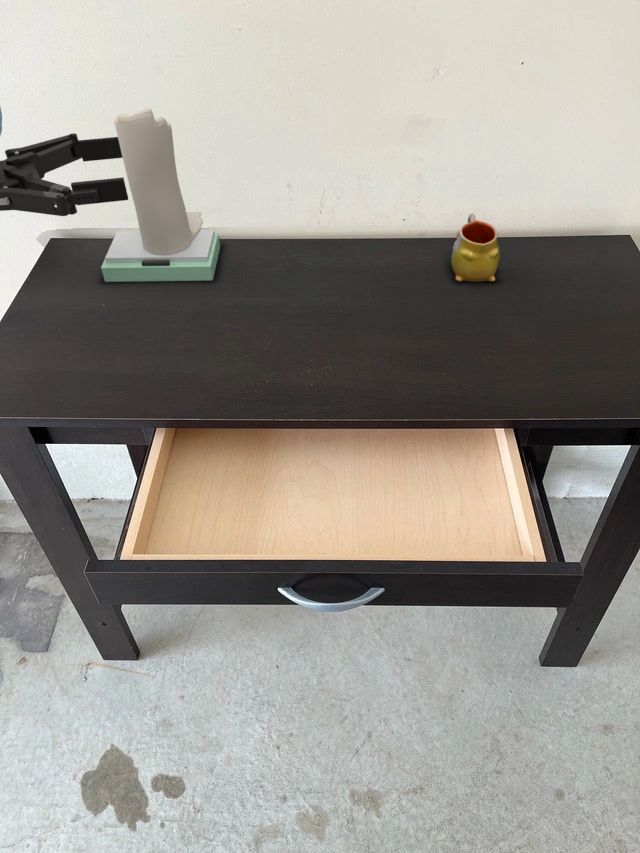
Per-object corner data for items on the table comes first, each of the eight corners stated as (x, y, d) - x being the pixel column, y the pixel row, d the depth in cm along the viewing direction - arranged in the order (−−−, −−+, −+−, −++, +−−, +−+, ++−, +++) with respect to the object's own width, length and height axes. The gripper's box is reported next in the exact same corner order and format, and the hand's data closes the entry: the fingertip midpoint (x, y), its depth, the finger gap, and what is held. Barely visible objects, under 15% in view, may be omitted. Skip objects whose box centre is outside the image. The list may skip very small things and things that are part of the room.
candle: (212, 211, 105) (193, 76, 91) (181, 257, 95) (153, 114, 81) (170, 208, 106) (144, 73, 92) (135, 252, 97) (100, 110, 82)
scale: (104, 281, 97) (99, 262, 95) (119, 248, 104) (114, 229, 102) (212, 280, 97) (209, 261, 94) (220, 246, 104) (217, 228, 101)
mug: (498, 286, 94) (506, 244, 89) (450, 284, 95) (455, 242, 90) (492, 243, 103) (499, 203, 98) (448, 241, 103) (453, 201, 98)
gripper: (-11, 170, 98) (133, 156, 101) (-44, 256, 81) (131, 236, 84) (-31, 118, 93) (121, 105, 96) (-70, 198, 76) (117, 179, 78)
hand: (126, 166), depth 90 cm, fingers open, 13 cm apart
